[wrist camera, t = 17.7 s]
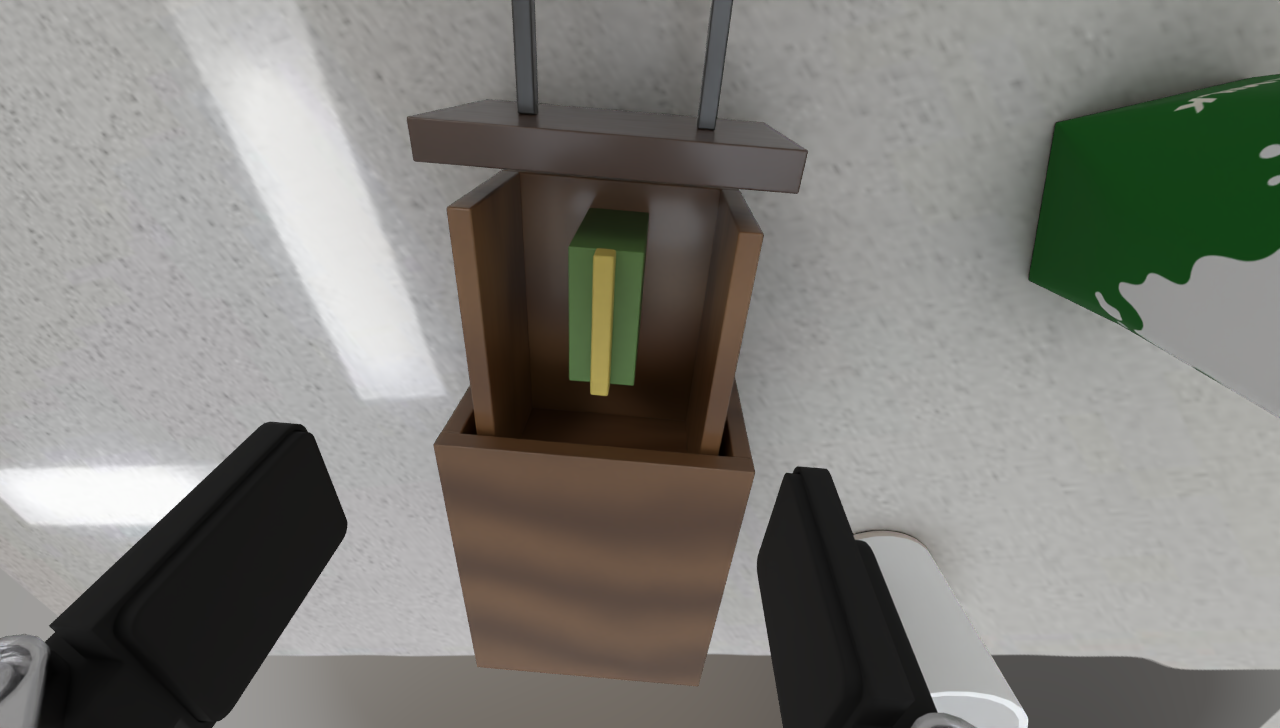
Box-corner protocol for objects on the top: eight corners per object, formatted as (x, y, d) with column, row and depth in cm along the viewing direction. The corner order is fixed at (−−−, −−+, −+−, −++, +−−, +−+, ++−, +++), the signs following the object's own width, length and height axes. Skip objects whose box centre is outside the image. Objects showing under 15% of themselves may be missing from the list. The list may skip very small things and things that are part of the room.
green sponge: (586, 322, 24) (565, 393, 19) (589, 206, 21) (563, 252, 16) (640, 327, 24) (632, 399, 19) (649, 211, 21) (643, 259, 16)
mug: (781, 575, 36) (817, 737, 28) (872, 506, 32) (949, 672, 24) (888, 626, 39) (951, 789, 30) (984, 569, 35) (1090, 738, 26)
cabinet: (500, 333, 27) (432, 444, 19) (730, 353, 27) (755, 472, 19) (518, 535, 36) (476, 667, 28) (691, 550, 36) (698, 686, 28)
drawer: (468, -127, 17) (348, -238, 10) (806, -99, 17) (889, -194, 10) (511, 404, 28) (467, 501, 22) (709, 421, 28) (721, 523, 22)
